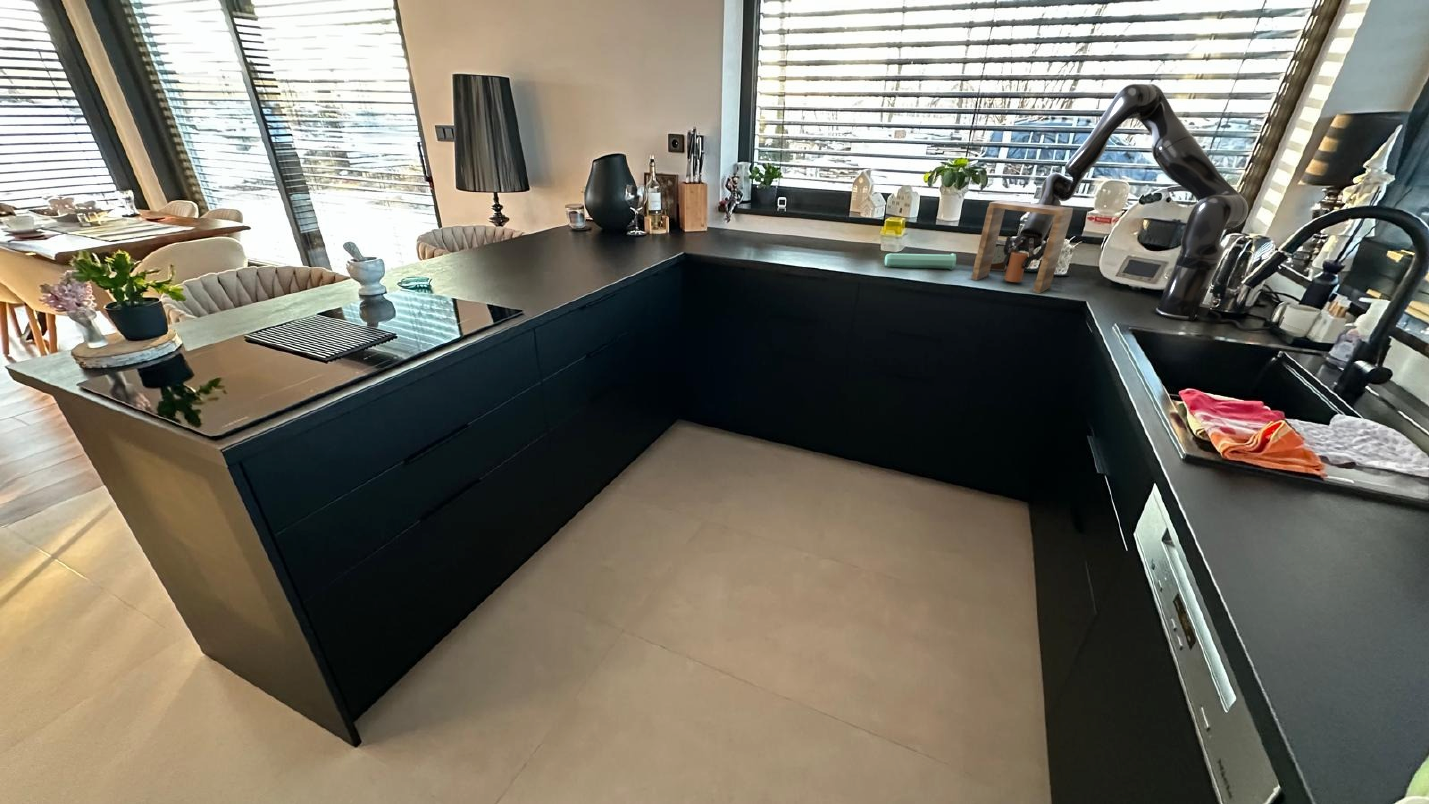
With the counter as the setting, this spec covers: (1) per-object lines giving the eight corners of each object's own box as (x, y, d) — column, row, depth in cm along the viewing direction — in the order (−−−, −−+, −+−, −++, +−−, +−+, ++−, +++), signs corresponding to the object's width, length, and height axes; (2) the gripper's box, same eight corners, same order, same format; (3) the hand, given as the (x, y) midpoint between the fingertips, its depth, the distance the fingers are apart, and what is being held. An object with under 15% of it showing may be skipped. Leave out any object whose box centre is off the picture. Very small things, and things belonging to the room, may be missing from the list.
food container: (1002, 266, 211) (1009, 239, 207) (1008, 270, 206) (1016, 243, 201) (969, 265, 212) (975, 238, 208) (974, 269, 207) (981, 241, 202)
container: (887, 250, 203) (956, 251, 202) (883, 253, 209) (951, 254, 208) (886, 266, 204) (955, 268, 202) (882, 269, 210) (950, 270, 208)
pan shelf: (1049, 288, 186) (1074, 208, 174) (1039, 293, 179) (1063, 210, 168) (982, 274, 200) (1001, 199, 188) (970, 279, 193) (989, 202, 182)
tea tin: (1023, 280, 190) (1030, 253, 186) (1017, 283, 187) (1024, 256, 183) (1007, 277, 194) (1014, 251, 189) (1001, 279, 190) (1008, 253, 186)
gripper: (1014, 215, 190) (991, 255, 188) (1060, 221, 181) (1036, 263, 179) (1016, 229, 196) (994, 268, 194) (1060, 235, 187) (1037, 276, 185)
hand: (1014, 265), depth 187 cm, fingers closed on tea tin, 5 cm apart
